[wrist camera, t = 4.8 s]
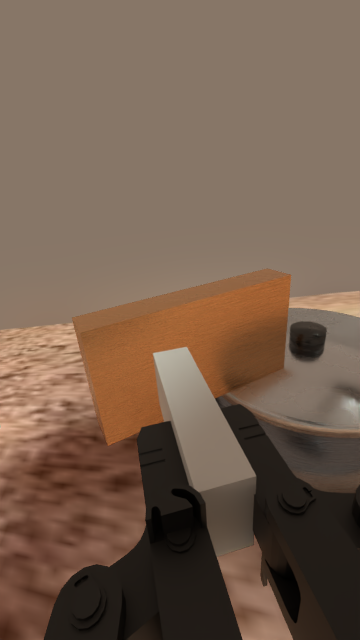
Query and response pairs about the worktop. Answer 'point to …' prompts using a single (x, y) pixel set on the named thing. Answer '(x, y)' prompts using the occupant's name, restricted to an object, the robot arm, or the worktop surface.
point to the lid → (227, 356)
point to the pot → (316, 457)
